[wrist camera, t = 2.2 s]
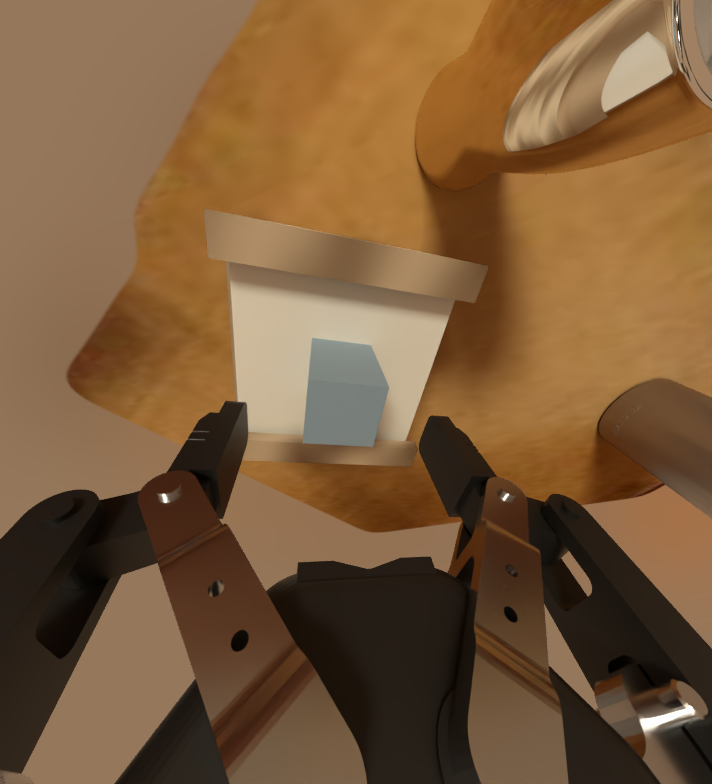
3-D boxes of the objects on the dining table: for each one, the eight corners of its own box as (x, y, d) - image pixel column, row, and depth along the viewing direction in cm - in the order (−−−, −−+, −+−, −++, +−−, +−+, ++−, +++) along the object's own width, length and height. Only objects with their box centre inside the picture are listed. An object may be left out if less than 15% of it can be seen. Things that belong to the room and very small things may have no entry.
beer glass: (494, 202, 19) (852, 145, 6) (400, 195, 18) (590, 112, 5) (533, 54, 15) (1588, -814, 3) (417, 37, 14) (1137, -1395, 2)
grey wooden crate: (429, 253, 20) (489, 266, 13) (387, 404, 27) (411, 466, 20) (250, 217, 18) (203, 208, 11) (254, 393, 25) (228, 459, 18)
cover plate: (451, 280, 15) (518, 305, 10) (400, 434, 21) (426, 500, 16) (234, 240, 13) (178, 246, 8) (244, 424, 19) (215, 498, 14)
